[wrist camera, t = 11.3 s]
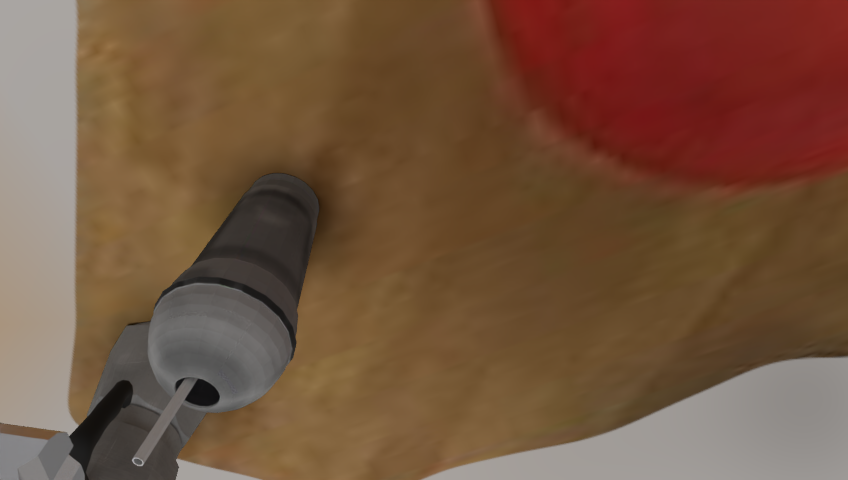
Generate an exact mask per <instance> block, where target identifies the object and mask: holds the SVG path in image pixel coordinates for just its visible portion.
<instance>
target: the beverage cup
mask: <svg viewBox="0 0 848 480" xmlns="http://www.w3.org/2000/svg"><path fill="white" fill-rule="evenodd" d="M318 213H319V203H318V199H317V197H316V195H315V193H314V192H313V190H312V189H311V188H310V187H309V186H308V185H307V184H306V183H305V182H303V181H301V180H300V179H298V178H296V177H294V176H290V175H287V174H280V173H272V174H269V175H265V176H262V177H261V178H259V179H258V180H257V181H255V182H254V184H253V186H252V187H251V188H250V189H249V190H248V192H246V193H245V194H244V195H243V197H242V198H241V199H240V201H239V202H238V203H237V205H236V206H235V207H234V209H233V210H232V212H231V213H230V214H229V216H228V217H227V218H226V220H225V221H224V222H223V224H222V225H221V226H220V228H219V229H218V231H217V232H216V233H215V235H214V236H213V237H212V239H211V240H210V241H209V243H208V244H207V245H206V247H205V248H204V250H203V251H202V252H201V254H200V255H199V256H198V258H197V259H196V260H195V262H194V263H193V265H192V266H191V267H190V268H188V269H187V270H185V271H184V272H183V273H182V274H181V275H180V276H179V277H178V278H177V279H176V280H175V281H174V282H173V284H172V285H171V286H170V287H169V288H167V289H166V290H164V291H163V292H162V294H161V296H160V297H159V299H158V301H157V302H156V304H155V307H154V315H153V317H152V319H151V322H150V326H149V333H148V358H149V362H150V365H151V367H152V370H153V373H154V375H155V377H156V380H157V381H158V383H159V384H160V385H161V386H162V388H163V389H164V390H165V391H166V392H167V394H168V395H169V396H171V397H172V399H171V401H170V402H169V404H168V405H167V407H166V408H165V410H164V411H163V413H162V414H161V416H160V417H159V419H158V421H157V422H156V424H155V425H154V427H153V428H152V430H151V431H150V433H149V434H148V436H147V437H146V439H145V441H144V442H143V444H142V445H141V447H140V448H139V450H138V451H137V453H136V454H135V456H134V457H133V459H132V461H133V463H134V464H136V465H137V466H142V465H143V464H144V463H145V461H146V460H147V458H148V457H149V455H150V453H151V452H152V450H153V449H154V447H155V446H156V444H157V442H158V441H159V439H160V438H161V436H162V435H163V433H164V431H165V430H166V428H167V427H168V425H169V424H170V422H171V420H172V419H173V417H174V416H175V414H176V412H177V411H178V409H179V408H180V406H181V405H182V404H183V405H185V406H187V407H189V408H191V409H195V410H199V411H203V412H213V413H219V412H226V411H231V410H237V409H239V408H242V407H244V406H246V405H248V404H250V403H252V402H254V401H256V400H257V399H259V398H260V397H262V396H263V395H264V394H265V393H266V392H267V391H268V390H269V389H270V388H271V387H272V386H273V385H274V384H275V382H276V381H277V380H278V379H279V378H280V376H281V375H282V373H283V372H284V370H285V368H286V366H287V365H288V364H289V362H290V361H291V360H292V358H293V355H294V351H295V347H296V338H295V336H296V332H297V320H298V313H297V307H298V303H299V299H300V295H301V290H302V286H303V282H304V278H305V273H306V269H307V265H308V261H309V256H310V252H311V248H312V243H313V239H314V235H315V231H316V226H317V217H318Z"/></svg>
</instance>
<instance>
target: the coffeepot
mask: <svg viewBox="0 0 848 480" xmlns="http://www.w3.org/2000/svg"><path fill="white" fill-rule="evenodd" d="M149 326H150V322H144V323H139V324H136V325H131V326H126V327H125V329H124V331H123V332H122V334H121V335H120V337H119V339H118V340H117V342H116V343H115V345H114V347H113V348H112V350H111V352H110V354H109V357H108V360H107V363H106V365H105V368H104V371H103V373H102V376H101V379H100V381H99V384H98V387H97V389H96V392H95V395H94V398H93V400H92V403H91V406H90V408H89V411H88V414H87V418H86V419H85V420H84V421H83V422H82V423H81V424H80V425H79V427H78V428H77V429H76V430H75V431H74V432H73V433H72V434H71V435H70V436H69V438H70V440H71V442H72V444H73V448H72V449H71V451H70V453H69V455H70V456H71V457H72V458H74V459H75V460H76V461H77V462H79V463H80V464H81V466H82V469H83V471H84V474H85V480H175V479H176V476H177V472H178V468H179V467H178V464H177V462H176V459H177V457H178V454H179V452H180V451H181V449H182V448H183V447H184V445H185V444H186V443H187V441H188V440H189V438H190V437H191V435H192V434H193V432H194V431H195V429H196V428H197V426H198V425H199V423H200V422H201V420H202V419H203V417H204V416H205V414H206V413H207V412H203V411H199V410H195V409H191V408H189V407H187V406H185V405H183V404H182V405H181V406H180V408H179V409H178V411H177V412H176V414H175V416H174V417H173V419H172V420H171V422H170V424H169V425H168V427H167V428H166V430H165V431H164V433H163V435H162V436H161V438H160V439H159V441H158V442H157V444H156V446H155V447H154V449H153V450H152V452H151V453H150V455H149V457H148V458H147V460H146V461H145V463H144V464H143V465H142V466H137V465H136V464H134V463H133V461H132V459H133V457H134V456H135V454H136V453H137V451H138V450H139V448H140V447H141V445H142V444H143V442H144V441H145V439H146V437H147V436H148V434H149V433H150V431H151V430H152V428H153V427H154V425H155V424H156V422H157V421H158V419H159V417H160V416H161V414H162V413H163V411H164V410H165V408H166V407H167V405H168V404H169V402H170V401H171V399H172V397H171V396H169V395H168V394H167V392H166V391H165V390H164V389H163V388H162V386H161V385H160V384H159V383H158V381H157V380H156V377H155V375H154V373H153V370H152V367H151V365H150V362H149V358H148V333H149Z"/></svg>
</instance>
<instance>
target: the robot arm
mask: <svg viewBox="0 0 848 480" xmlns="http://www.w3.org/2000/svg"><path fill="white" fill-rule="evenodd" d="M72 448H73V444H72V442H71V440H70V438H69V436H68V434H67V432H60V431H54V430H46V429H39V428H32V427H25V426H18V425H10V424H4V423H0V480H85V474H84V471H83V469H82V466H81V464H80V463H79V462H77V461H76V460H75V459H74V458H72V457H71V456H70V455H69V453H70V451H71V449H72Z"/></svg>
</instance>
